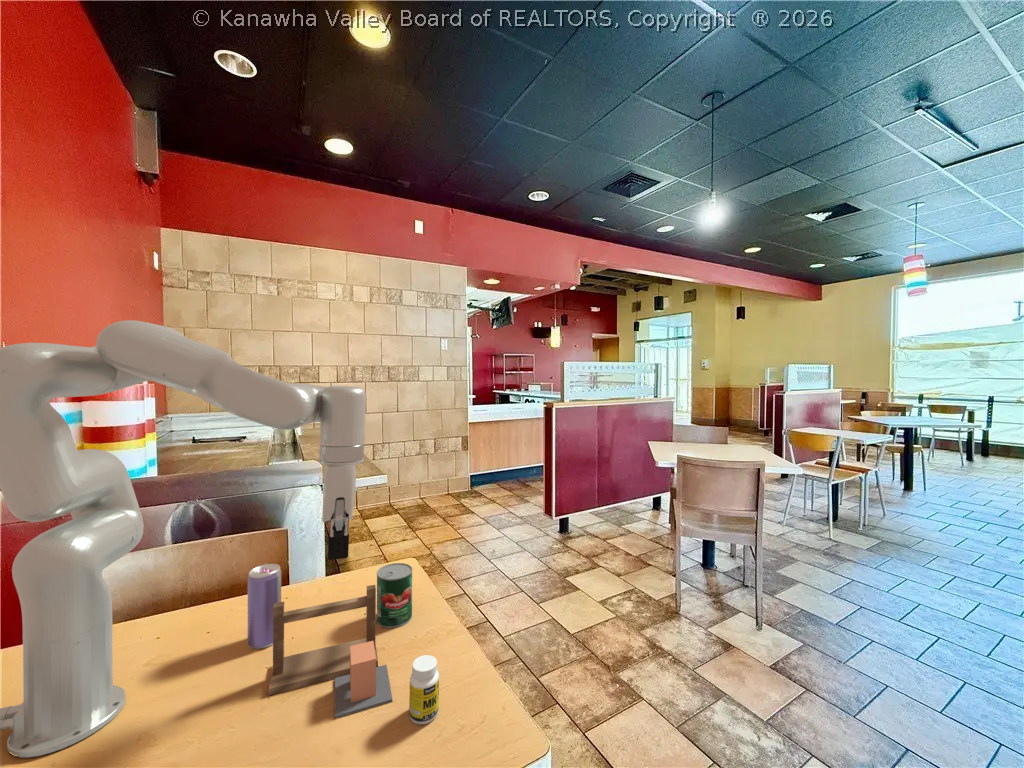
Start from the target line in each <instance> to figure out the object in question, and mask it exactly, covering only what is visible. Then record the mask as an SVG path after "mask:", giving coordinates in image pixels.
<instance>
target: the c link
mask: <svg viewBox="0 0 1024 768" xmlns="http://www.w3.org/2000/svg"><path fill="white" fill-rule="evenodd" d="M350 686H351V702H355V701H358V700H362V699H365V698H369V697H372V696H376V655H375V648H374V641H370V642H366V643H361V644H357V645H353V646H350Z"/></svg>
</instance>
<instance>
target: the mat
mask: <svg viewBox="0 0 1024 768" xmlns="http://www.w3.org/2000/svg"><path fill="white" fill-rule="evenodd" d="M387 665H388V664H383V665H380V666H379V665H378V667H376V696H372V697H369V698H365V699H362V700H358V701H355V702H351V686H350V674H349V675H345V676H341V677H337V678H334V718H335V719H339V718H341V717H345V716H348V715H352V714H355V713H358V712H362V711H365V710H368V709H373V708H375V707H378V706H382V705H385V704H389V703H391V702H393V694H392V689H391V683H390V677H389V671H388V666H387Z"/></svg>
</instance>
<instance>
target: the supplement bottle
mask: <svg viewBox="0 0 1024 768" xmlns="http://www.w3.org/2000/svg"><path fill="white" fill-rule="evenodd" d="M411 666H412V667H411V668H412V670H411V674H410V677H409V701H408V703H409V706H408V708H409V710H408V714H409V719H410V720H411V722H413V723H414V724H417V725H426V724H429V723H431V722H432V721H433V720H435V719H436V717H437V715H438V713H439V709H440V708H439V703H440V702H439V701H440V700H439V698H440V697H439V695H440V692H439V691H440V674H439V670H438V660H437V658H436V657H435V656H433V655H428V654H424V655H421V656H418V657H416V658H415V659H414V660H413V661H412V665H411Z"/></svg>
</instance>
